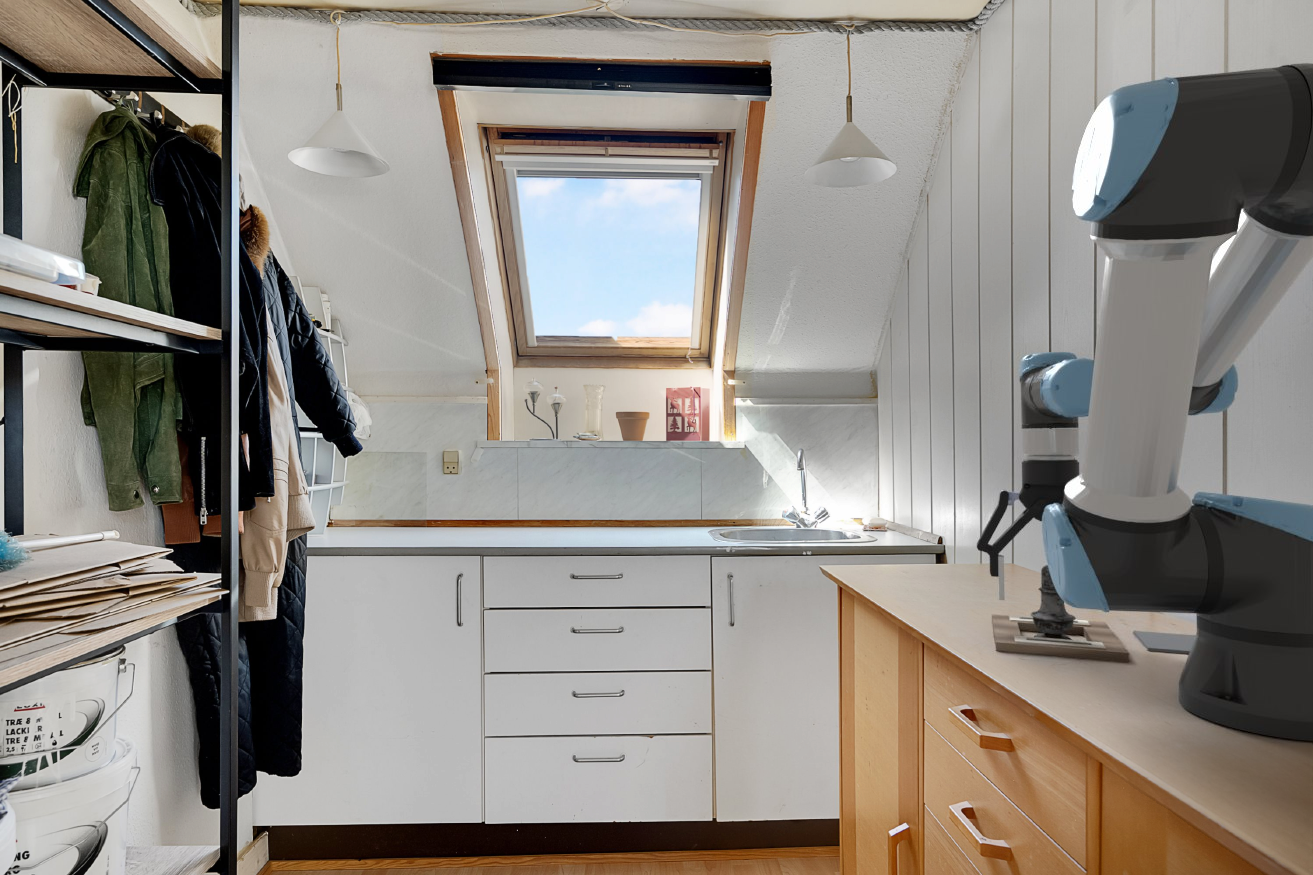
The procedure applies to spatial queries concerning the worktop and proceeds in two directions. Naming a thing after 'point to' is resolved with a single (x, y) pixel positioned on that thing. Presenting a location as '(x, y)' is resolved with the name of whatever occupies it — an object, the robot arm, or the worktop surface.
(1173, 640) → the rubber mat
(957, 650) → the worktop surface
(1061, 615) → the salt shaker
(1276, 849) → the worktop surface
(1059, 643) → the label board
